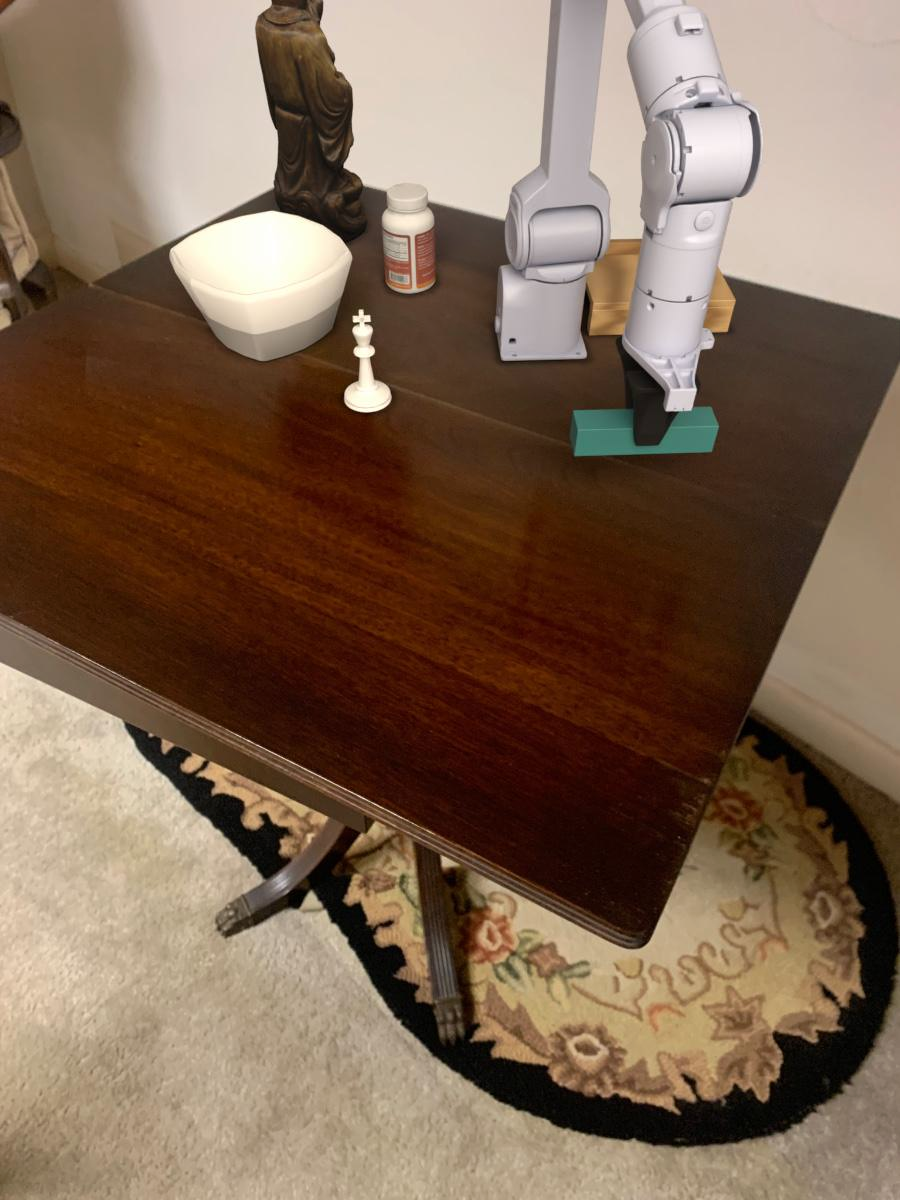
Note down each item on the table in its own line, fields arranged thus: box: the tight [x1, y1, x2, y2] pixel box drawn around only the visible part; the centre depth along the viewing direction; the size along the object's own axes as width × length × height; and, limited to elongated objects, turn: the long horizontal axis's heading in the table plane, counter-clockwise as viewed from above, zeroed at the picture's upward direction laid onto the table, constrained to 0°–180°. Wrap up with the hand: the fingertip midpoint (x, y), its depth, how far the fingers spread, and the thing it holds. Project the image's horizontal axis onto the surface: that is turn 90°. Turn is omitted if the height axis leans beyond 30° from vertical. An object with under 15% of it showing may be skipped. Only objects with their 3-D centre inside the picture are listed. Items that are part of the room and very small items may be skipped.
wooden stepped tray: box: [585, 238, 737, 336], centre depth 103 cm, size 16×12×6 cm
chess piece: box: [343, 309, 392, 413], centre depth 88 cm, size 5×5×10 cm
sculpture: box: [254, 0, 368, 243], centre depth 108 cm, size 12×13×30 cm
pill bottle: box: [381, 182, 437, 295], centre depth 104 cm, size 6×6×11 cm
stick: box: [569, 406, 720, 457], centre depth 76 cm, size 12×3×3 cm, turn 93°
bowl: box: [168, 210, 353, 362], centre depth 98 cm, size 18×18×9 cm
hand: (642, 431), depth 76 cm, fingers closed on stick, 3 cm apart
